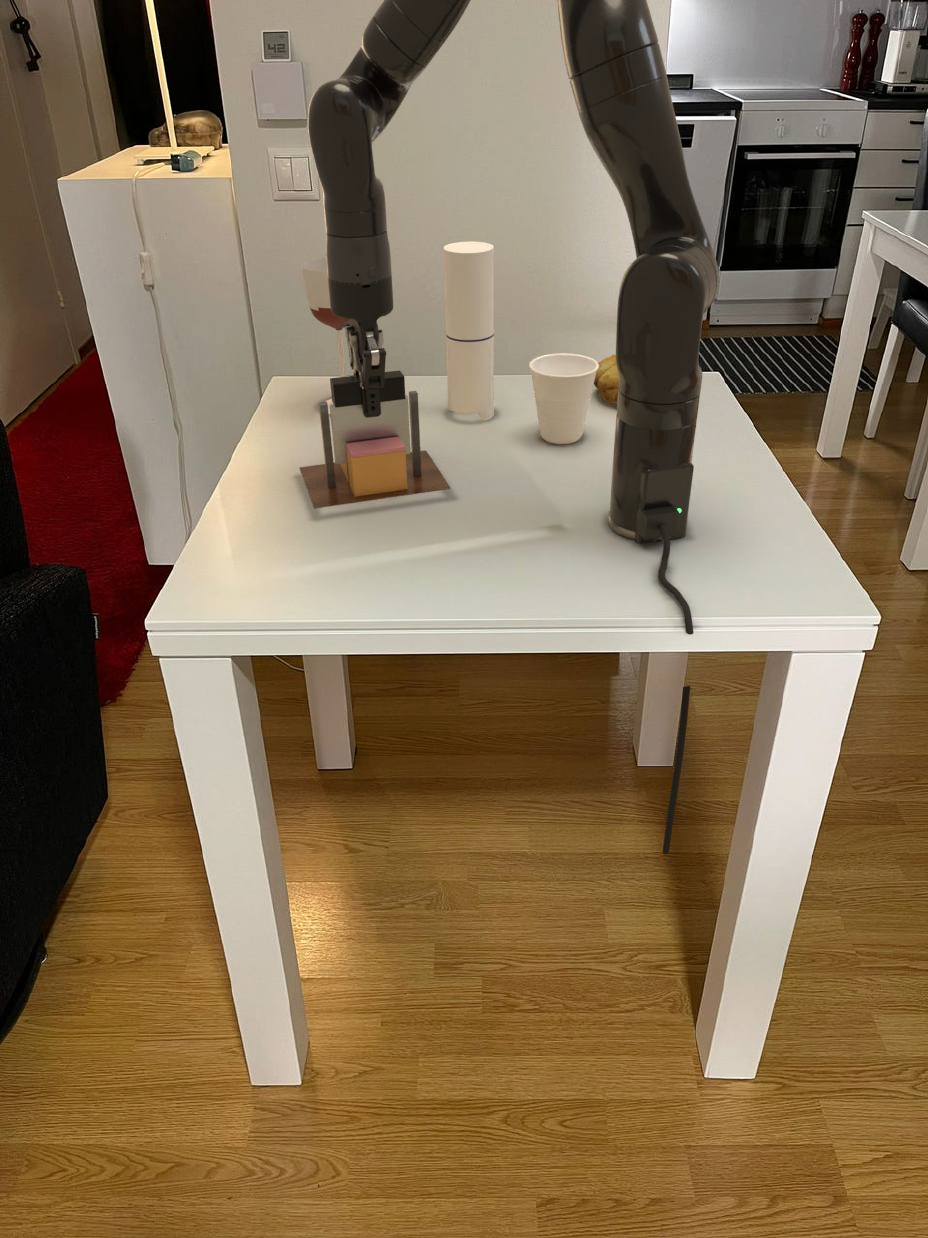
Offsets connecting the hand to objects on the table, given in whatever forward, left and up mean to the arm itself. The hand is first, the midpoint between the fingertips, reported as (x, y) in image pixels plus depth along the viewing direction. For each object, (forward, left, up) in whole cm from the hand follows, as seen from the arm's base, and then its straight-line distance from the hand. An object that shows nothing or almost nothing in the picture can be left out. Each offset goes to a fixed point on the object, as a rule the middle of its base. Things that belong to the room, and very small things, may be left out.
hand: (369, 411), depth 123 cm
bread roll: (+20, -45, -11) cm, 51 cm away
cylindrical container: (+22, -20, -11) cm, 32 cm away
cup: (+9, -30, -11) cm, 33 cm away
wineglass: (+32, -2, -11) cm, 34 cm away
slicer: (+1, 0, -11) cm, 11 cm away
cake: (+1, 0, -10) cm, 10 cm away
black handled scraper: (0, 0, -7) cm, 7 cm away
